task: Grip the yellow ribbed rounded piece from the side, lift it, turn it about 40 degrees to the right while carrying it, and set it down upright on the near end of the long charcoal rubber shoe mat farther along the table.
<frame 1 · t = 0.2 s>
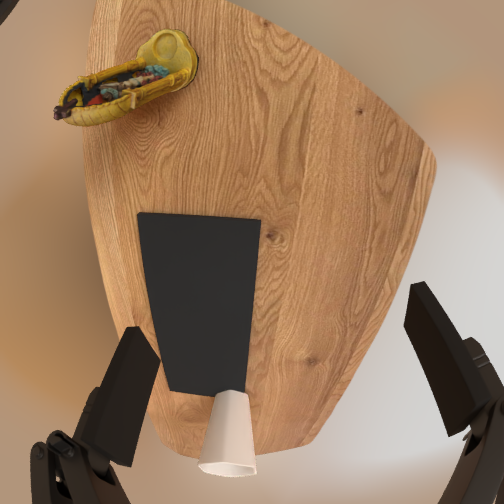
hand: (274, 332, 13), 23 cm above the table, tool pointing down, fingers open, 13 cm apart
yellow ribbed rounded piece: (160, 76, 27), on the table
cup: (232, 397, 54), point 1 cm above the table, touching shoe mat
shoe mat: (201, 329, 45), on the table
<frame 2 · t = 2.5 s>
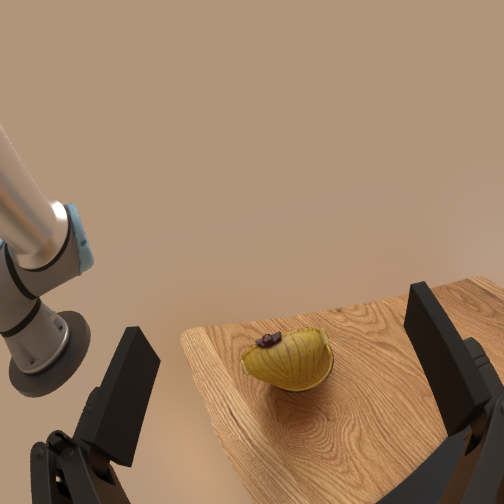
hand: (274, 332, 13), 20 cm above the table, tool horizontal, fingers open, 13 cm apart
yellow ribbed rounded piece: (298, 385, 30), on the table
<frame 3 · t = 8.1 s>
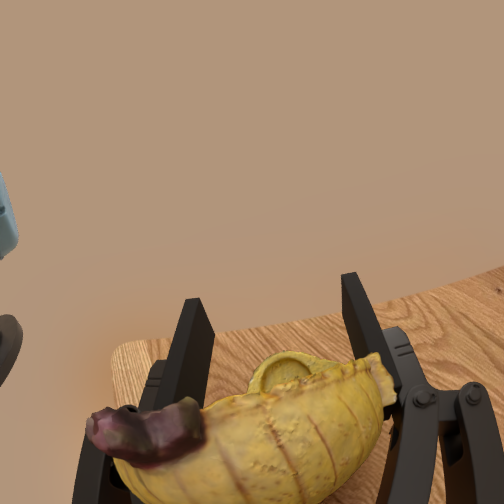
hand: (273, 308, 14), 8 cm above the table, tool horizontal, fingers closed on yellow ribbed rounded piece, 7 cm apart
yellow ribbed rounded piece: (297, 453, 14), on the table, touching gripper
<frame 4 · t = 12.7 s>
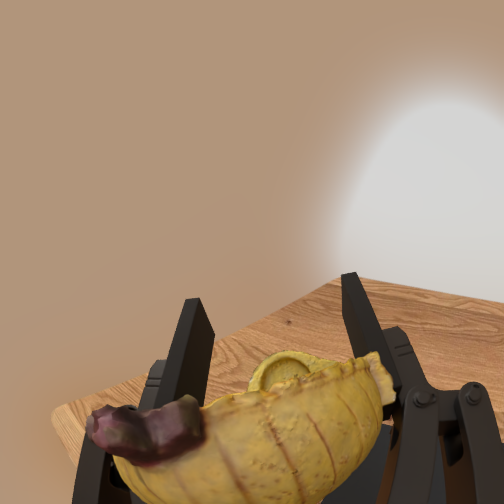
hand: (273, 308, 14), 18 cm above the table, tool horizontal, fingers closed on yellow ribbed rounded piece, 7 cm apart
yellow ribbed rounded piece: (297, 453, 14), point 10 cm above the table, touching gripper
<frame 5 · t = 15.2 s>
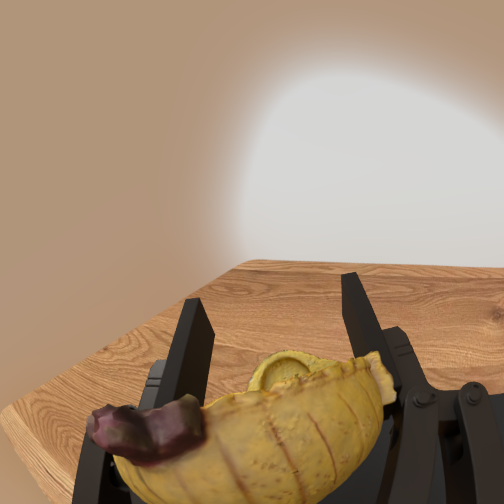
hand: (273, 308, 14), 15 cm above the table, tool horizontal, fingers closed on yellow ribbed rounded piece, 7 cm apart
yellow ribbed rounded piece: (297, 452, 14), point 6 cm above the table, touching gripper
shoe mat: (464, 478, 11), on the table
when the fingers open (9 cm above the table, at t = 17.3 s): yellow ribbed rounded piece stays where it is, resting on shoe mat.
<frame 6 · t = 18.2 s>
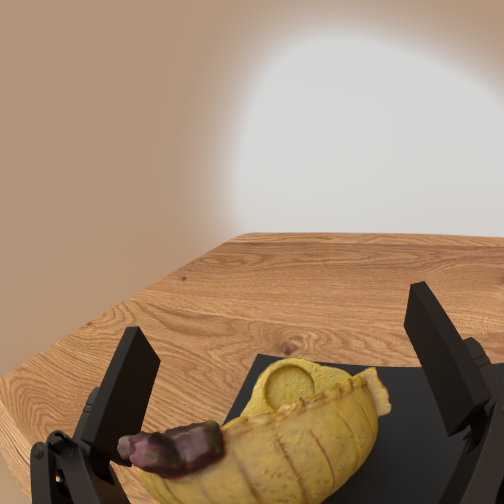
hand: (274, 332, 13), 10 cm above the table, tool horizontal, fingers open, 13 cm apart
yellow ribbed rounded piece: (300, 455, 14), point 1 cm above the table, touching shoe mat
shoe mat: (493, 459, 9), on the table
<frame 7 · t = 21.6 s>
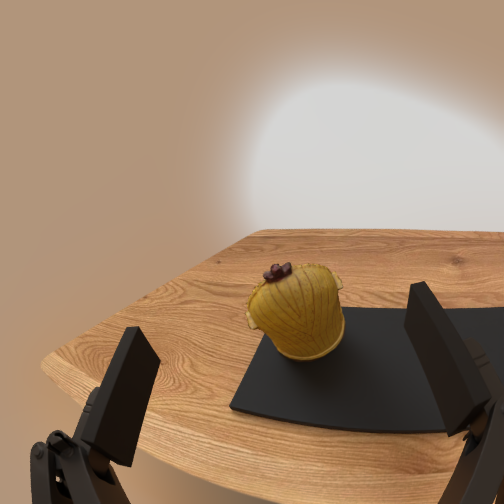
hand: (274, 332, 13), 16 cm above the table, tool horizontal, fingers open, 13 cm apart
yellow ribbed rounded piece: (308, 355, 29), point 1 cm above the table, touching shoe mat
shoe mat: (433, 365, 23), on the table
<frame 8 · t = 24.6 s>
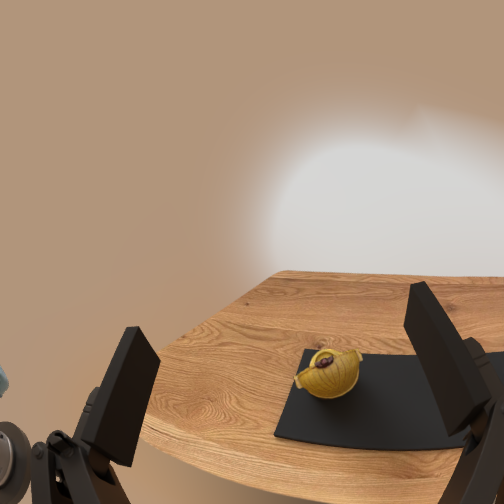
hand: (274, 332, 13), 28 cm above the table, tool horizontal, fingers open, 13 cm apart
yellow ribbed rounded piece: (330, 393, 36), point 1 cm above the table, touching shoe mat
shoe mat: (423, 400, 30), on the table
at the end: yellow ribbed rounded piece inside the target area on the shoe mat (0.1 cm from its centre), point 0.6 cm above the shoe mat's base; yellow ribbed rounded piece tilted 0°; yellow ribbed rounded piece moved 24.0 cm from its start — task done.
